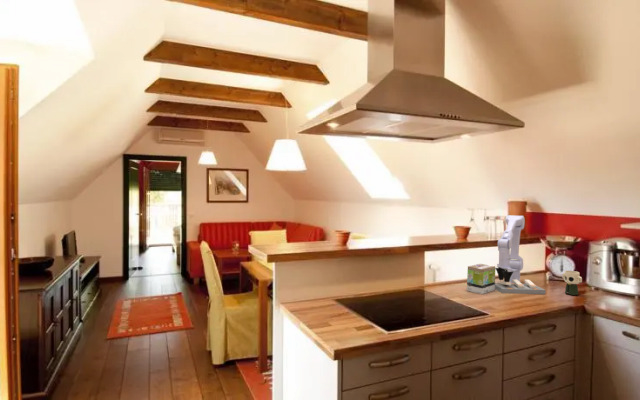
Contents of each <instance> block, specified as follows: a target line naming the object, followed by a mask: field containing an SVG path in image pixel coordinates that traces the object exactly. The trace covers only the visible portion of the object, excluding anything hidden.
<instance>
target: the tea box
mask: <svg viewBox="0 0 640 400" xmlns="http://www.w3.org/2000/svg"><path fill="white" fill-rule="evenodd" d="M466 275H467V277H466V291H467V292H471V293H475V294H479V295H484V294H488V293H489V292H493V291H495V290H496V289H495V283H496V266H495V265H489V264H483V263H477V264H473V265H469V266H468V265H467V273H466Z"/></svg>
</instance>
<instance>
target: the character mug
mask: <svg viewBox="0 0 640 400" xmlns="http://www.w3.org/2000/svg"><path fill="white" fill-rule="evenodd" d="M561 278H562V279H563V281H564V282H565V283H566V284H565V285H566V286H565V290H564V292H565V294H568V295H570V296H572V295H573V296H576V295H579V289H578V284H581V283H583V278H582V276H580V272H579V271H577V270H576V271H575V270H564V272H563V273H562V275H561Z"/></svg>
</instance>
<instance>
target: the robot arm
mask: <svg viewBox="0 0 640 400" xmlns="http://www.w3.org/2000/svg"><path fill="white" fill-rule="evenodd" d="M525 222H526V221H525V217H524V215H513V214H511V215H509V214H507V215H506V217H505V223H506V229H505V230H503V232H502V234H501V236H500V237H501V238H499V239H498V240H497V250H498V263H497V264H496V267H495V272H497V276H498V280H500V281H503V282H511V283H513V282H512V279H517V280H518V281H519V282H521V271H522V270H523V268H524V258H523V257H522V256H520V254H519V253H520V241H521V232H522V230H524V228H525V225H526V223H525Z"/></svg>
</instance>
